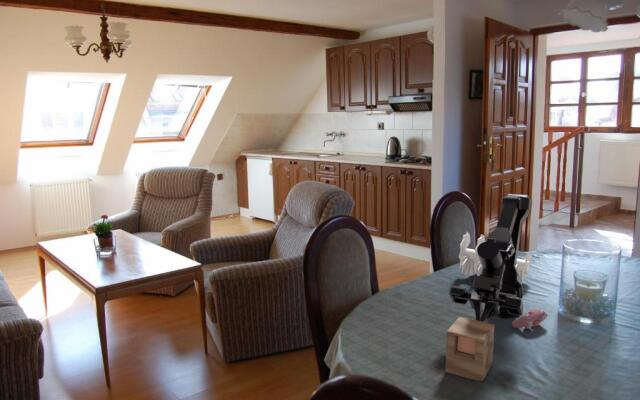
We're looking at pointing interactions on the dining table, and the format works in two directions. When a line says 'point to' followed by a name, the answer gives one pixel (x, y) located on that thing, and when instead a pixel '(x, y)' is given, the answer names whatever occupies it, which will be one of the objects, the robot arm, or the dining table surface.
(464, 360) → the sleeve block
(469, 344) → the peg
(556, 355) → the dining table surface
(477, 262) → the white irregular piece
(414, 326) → the dining table surface
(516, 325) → the pink rounded piece
